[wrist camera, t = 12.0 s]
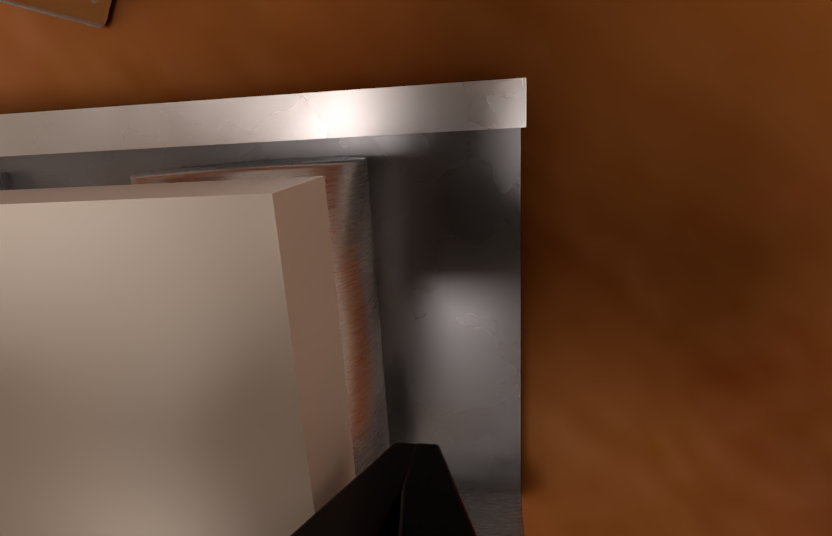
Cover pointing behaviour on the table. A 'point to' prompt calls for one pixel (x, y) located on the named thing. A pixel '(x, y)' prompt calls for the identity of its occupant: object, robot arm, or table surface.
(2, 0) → the small box
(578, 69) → the table surface
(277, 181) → the slab
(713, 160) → the table surface
